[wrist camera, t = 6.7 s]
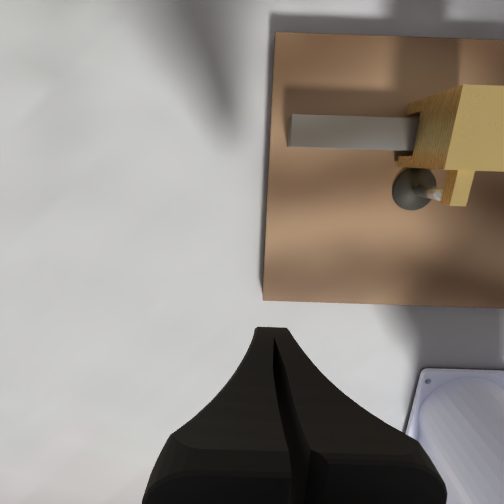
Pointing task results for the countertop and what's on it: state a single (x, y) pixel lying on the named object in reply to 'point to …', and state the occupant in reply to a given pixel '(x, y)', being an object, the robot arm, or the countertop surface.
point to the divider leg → (457, 139)
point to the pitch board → (374, 176)
